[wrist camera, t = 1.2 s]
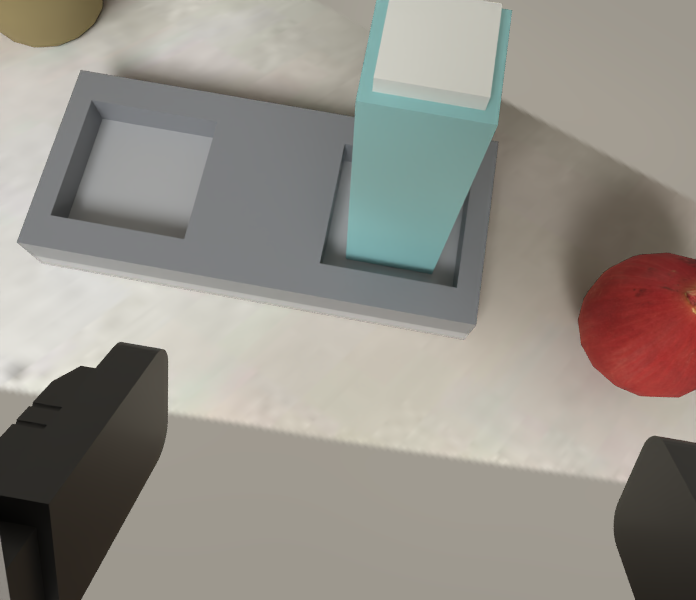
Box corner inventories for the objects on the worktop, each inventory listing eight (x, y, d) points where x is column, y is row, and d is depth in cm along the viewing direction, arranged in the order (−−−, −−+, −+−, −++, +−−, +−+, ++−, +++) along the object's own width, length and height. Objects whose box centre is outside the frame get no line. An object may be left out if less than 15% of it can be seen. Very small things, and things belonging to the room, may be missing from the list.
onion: (604, 263, 30) (695, 183, 23) (704, 344, 29) (834, 288, 22) (528, 348, 29) (598, 292, 21) (630, 436, 28) (742, 411, 20)
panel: (41, 263, 30) (16, 242, 27) (98, 101, 32) (80, 70, 30) (464, 339, 29) (476, 325, 27) (486, 168, 32) (498, 141, 29)
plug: (345, 258, 29) (356, 87, 17) (363, 167, 31) (385, -49, 19) (431, 274, 29) (503, 112, 17) (445, 182, 30) (520, -27, 18)
